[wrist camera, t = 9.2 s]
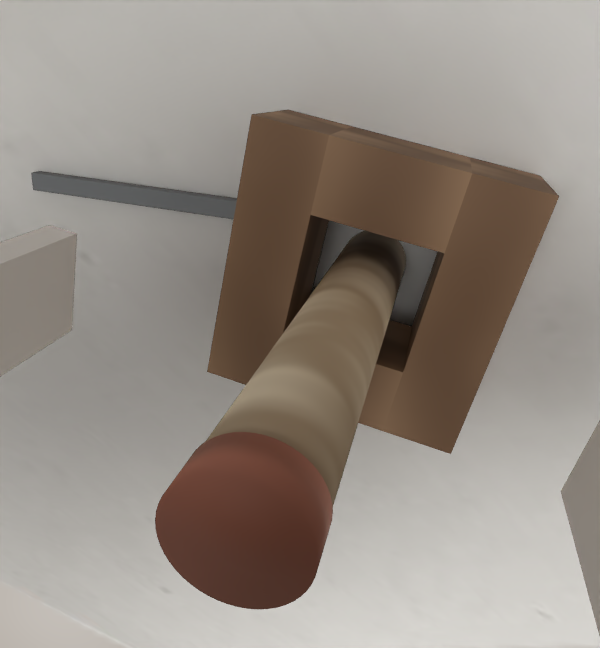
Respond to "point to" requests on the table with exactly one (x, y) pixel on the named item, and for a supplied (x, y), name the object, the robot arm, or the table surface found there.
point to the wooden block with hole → (391, 221)
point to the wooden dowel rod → (284, 442)
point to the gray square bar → (135, 194)
